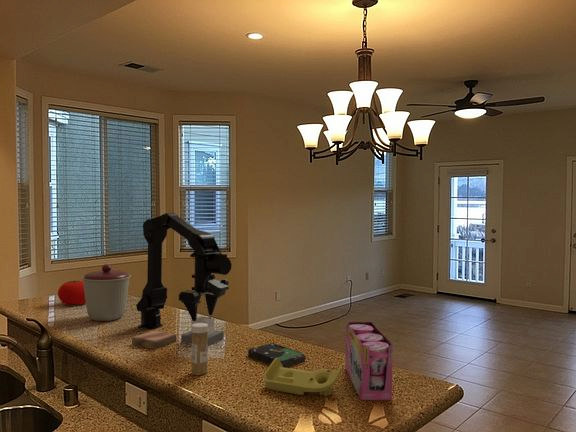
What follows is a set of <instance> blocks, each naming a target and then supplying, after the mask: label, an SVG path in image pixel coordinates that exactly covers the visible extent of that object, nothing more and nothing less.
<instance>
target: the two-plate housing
mask: <svg viewBox="0 0 576 432" xmlns="http://www.w3.org/2000/svg"><path fill="white" fill-rule="evenodd" d="M190 320H191V322H190V323H191V324H190V325H191V326H192V324H195V323H206V324H208V333H207V336H208V335H210V334H212V333H214V330H215V317H211V316H204V315H199V316H198V315H197V317H196V321H193V320H192V318H191V319H190ZM191 326H190V327H191ZM191 334H192V332H191Z"/></svg>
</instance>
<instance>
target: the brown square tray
mask: <svg viewBox="0 0 576 432" xmlns="http://www.w3.org/2000/svg"><path fill="white" fill-rule="evenodd" d="M173 342H174V343H176V342H177V334H175V333H171V332H170V333H169V332H164V331H158V330H153V329H152V330H151V331H148V332H145V333H142V334H139V335H136V336H133V337H131V345H132V346H134V347H135V346H137V347H141V348H147V349H152V350H158V348H159V349H161V348H163V346H164V347H165V345H166V346H168V344H169V345H170V343H171V344H173ZM160 347H161V348H160Z"/></svg>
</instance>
